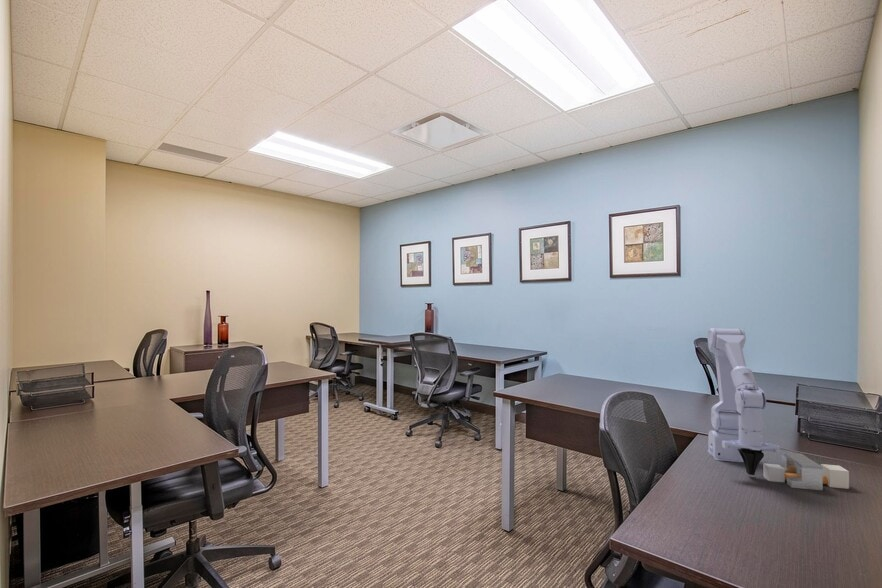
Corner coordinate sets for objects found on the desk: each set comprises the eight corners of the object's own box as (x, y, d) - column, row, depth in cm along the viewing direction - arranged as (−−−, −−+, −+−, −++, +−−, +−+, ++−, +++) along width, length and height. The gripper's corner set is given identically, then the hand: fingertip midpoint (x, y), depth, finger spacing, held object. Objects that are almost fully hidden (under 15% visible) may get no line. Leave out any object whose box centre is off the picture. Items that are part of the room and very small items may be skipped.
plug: (769, 481, 123) (769, 464, 122) (762, 475, 126) (762, 459, 126) (849, 488, 118) (848, 471, 118) (839, 482, 122) (839, 465, 122)
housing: (791, 487, 119) (791, 464, 119) (772, 472, 128) (772, 451, 128) (822, 490, 117) (822, 466, 117) (801, 475, 127) (801, 453, 127)
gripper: (729, 431, 123) (729, 476, 123) (785, 435, 120) (785, 481, 120) (719, 424, 130) (719, 467, 130) (772, 427, 127) (772, 471, 127)
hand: (750, 473), depth 125 cm, fingers closed
